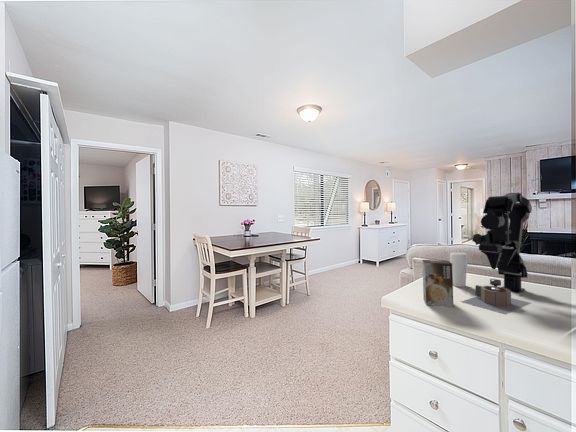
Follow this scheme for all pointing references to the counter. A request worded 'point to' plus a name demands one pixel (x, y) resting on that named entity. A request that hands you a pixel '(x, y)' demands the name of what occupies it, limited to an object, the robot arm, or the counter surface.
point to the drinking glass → (459, 268)
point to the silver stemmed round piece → (495, 284)
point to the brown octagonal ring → (494, 295)
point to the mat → (500, 309)
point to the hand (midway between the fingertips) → (499, 267)
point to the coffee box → (437, 283)
